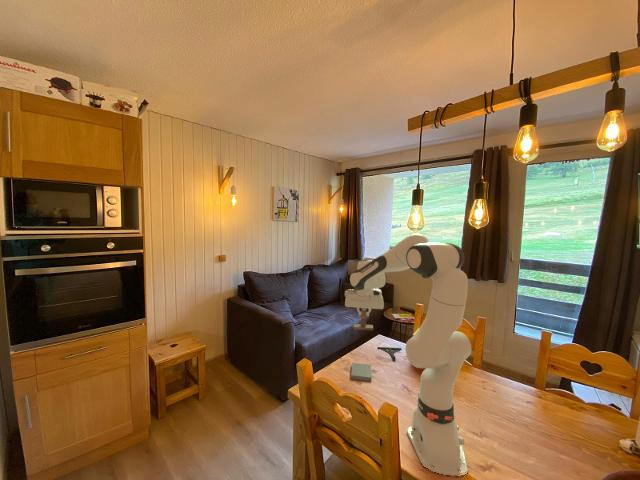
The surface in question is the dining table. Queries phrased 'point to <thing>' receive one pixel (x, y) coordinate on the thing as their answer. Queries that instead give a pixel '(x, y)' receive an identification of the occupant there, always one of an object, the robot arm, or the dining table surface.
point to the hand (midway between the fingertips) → (363, 315)
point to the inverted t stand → (363, 322)
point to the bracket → (390, 351)
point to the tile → (361, 372)
